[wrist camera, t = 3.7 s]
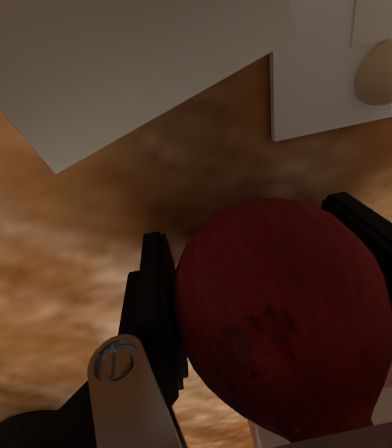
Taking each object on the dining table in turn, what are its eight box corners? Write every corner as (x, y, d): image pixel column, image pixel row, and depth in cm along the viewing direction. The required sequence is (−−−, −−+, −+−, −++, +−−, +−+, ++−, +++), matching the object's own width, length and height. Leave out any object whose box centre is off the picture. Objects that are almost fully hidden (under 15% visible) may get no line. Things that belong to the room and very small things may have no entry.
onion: (182, 290, 12) (207, 561, 6) (155, 179, 9) (137, 478, 3) (300, 268, 12) (466, 507, 6) (311, 151, 9) (695, 365, 3)
